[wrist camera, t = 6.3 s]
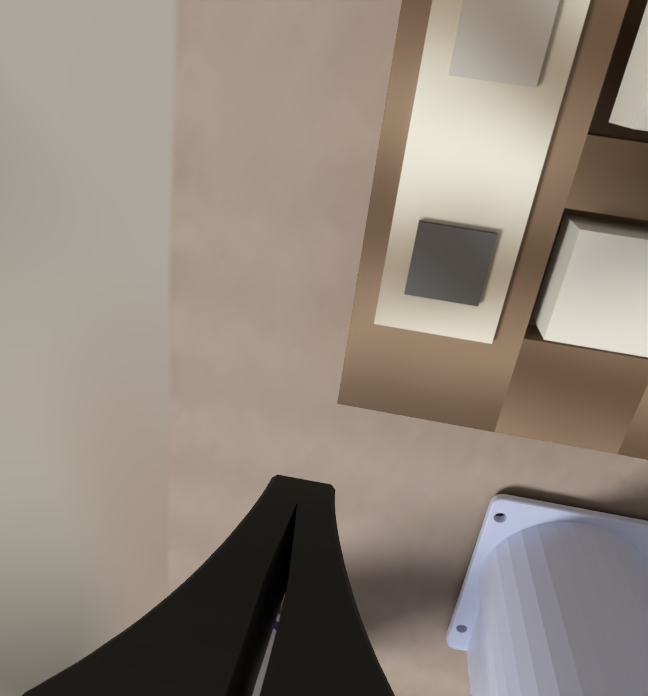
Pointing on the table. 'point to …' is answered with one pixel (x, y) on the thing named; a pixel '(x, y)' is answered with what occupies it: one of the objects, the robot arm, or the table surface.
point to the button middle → (634, 85)
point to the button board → (497, 220)
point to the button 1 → (596, 287)
